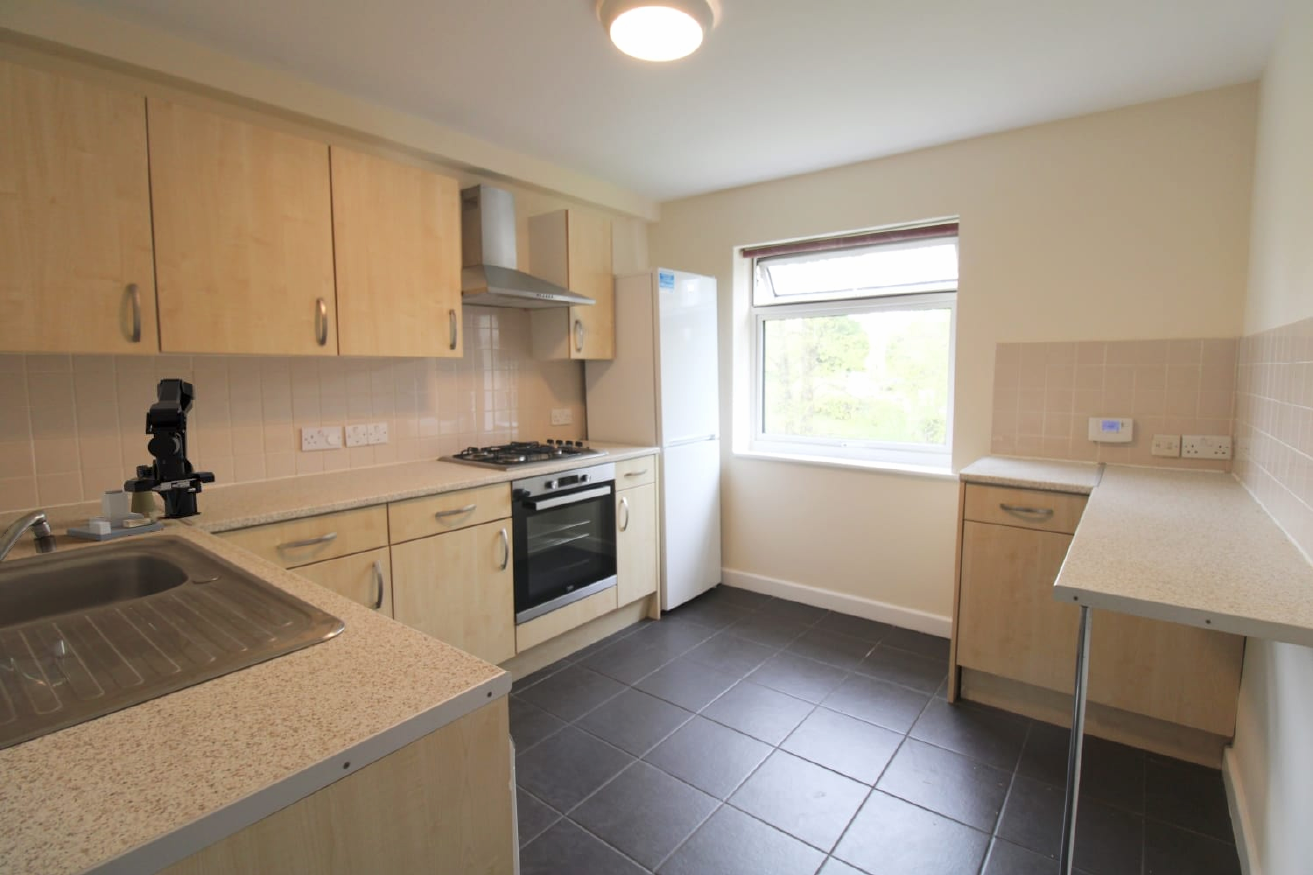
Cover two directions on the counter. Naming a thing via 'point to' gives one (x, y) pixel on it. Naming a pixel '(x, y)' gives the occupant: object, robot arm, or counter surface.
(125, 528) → the plate
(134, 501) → the olive pepper mill
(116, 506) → the white upright block
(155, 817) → the counter surface
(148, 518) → the latch bolt
